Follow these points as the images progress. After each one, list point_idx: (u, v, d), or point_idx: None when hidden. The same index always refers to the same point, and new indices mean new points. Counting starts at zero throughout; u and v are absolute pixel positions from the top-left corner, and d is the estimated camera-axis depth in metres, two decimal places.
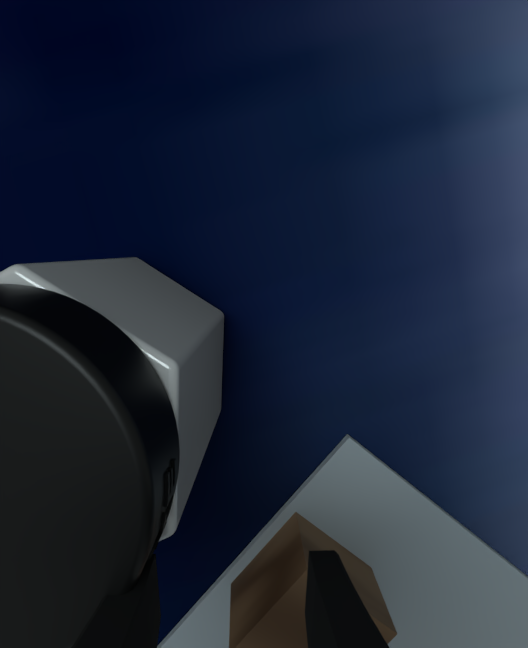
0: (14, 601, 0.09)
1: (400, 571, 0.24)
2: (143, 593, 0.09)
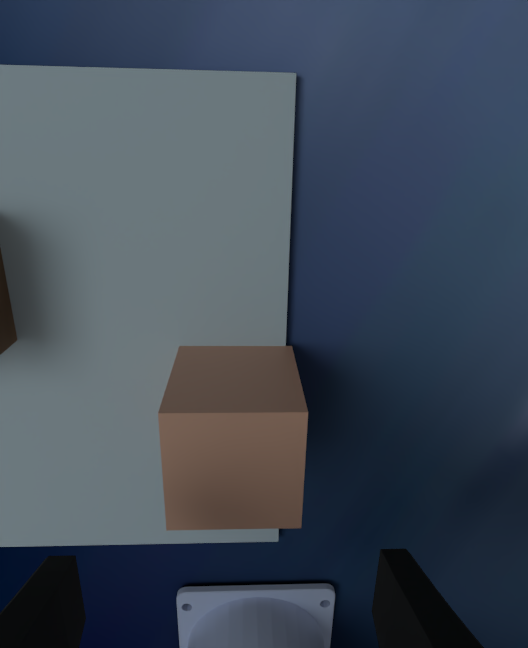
0: None
1: (29, 187, 0.16)
2: (53, 595, 0.09)
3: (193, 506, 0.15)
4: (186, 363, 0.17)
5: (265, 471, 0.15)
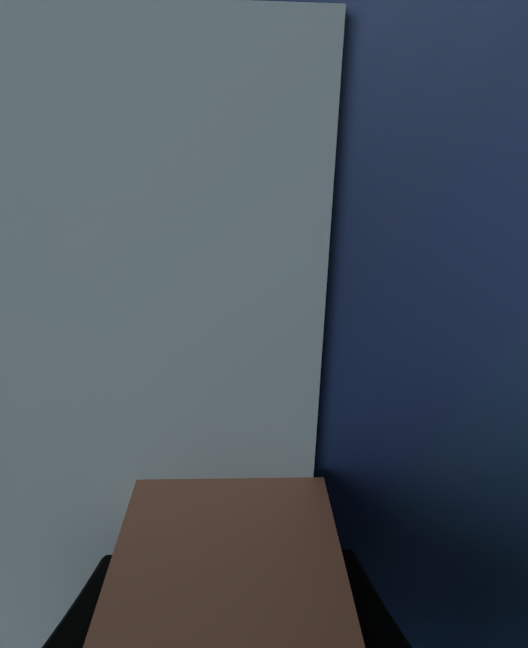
0: None
1: None
2: None
3: None
4: (142, 532, 0.10)
5: None
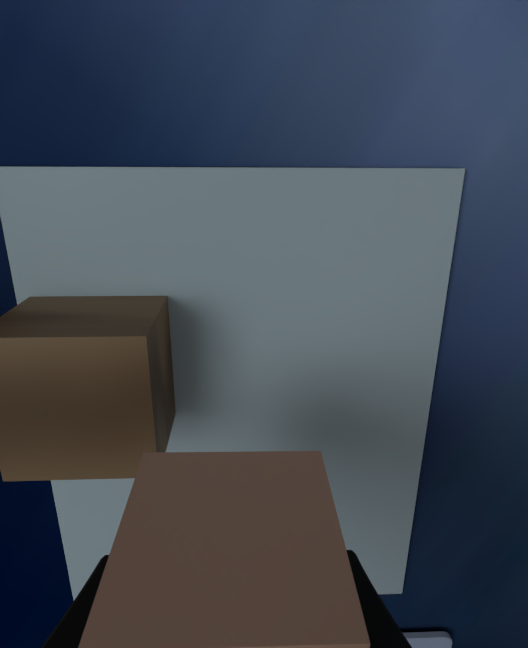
0: None
1: (203, 276, 0.17)
2: None
3: None
4: (150, 497, 0.10)
5: None
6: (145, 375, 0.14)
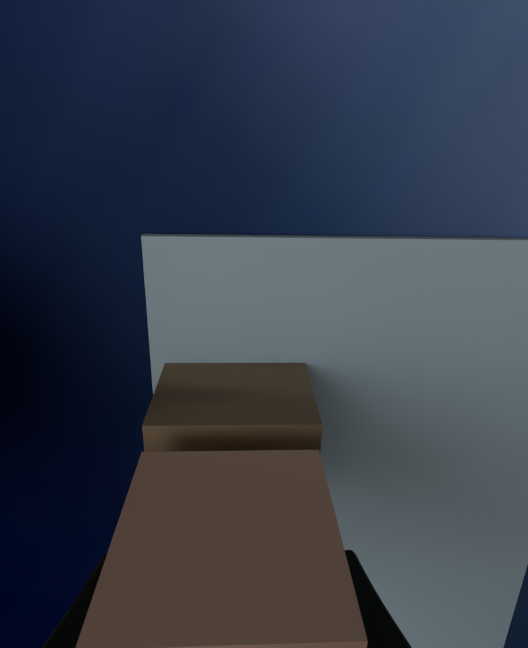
0: None
1: (343, 343, 0.17)
2: None
3: None
4: (148, 496, 0.10)
5: None
6: None
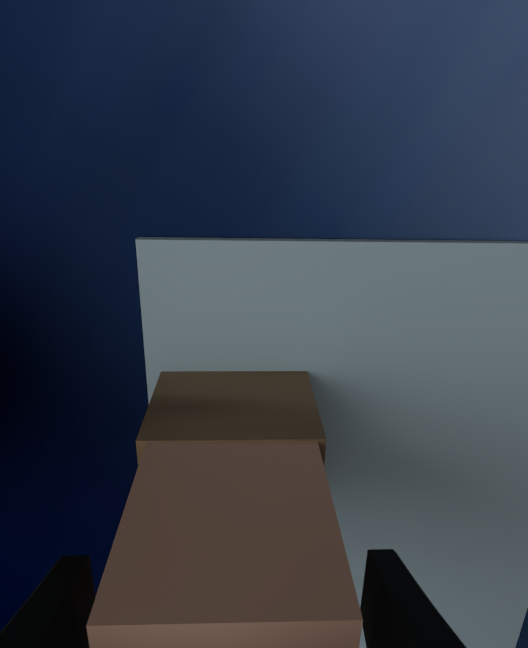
0: None
1: (347, 351, 0.16)
2: (68, 595, 0.09)
3: None
4: (153, 484, 0.11)
5: None
6: None
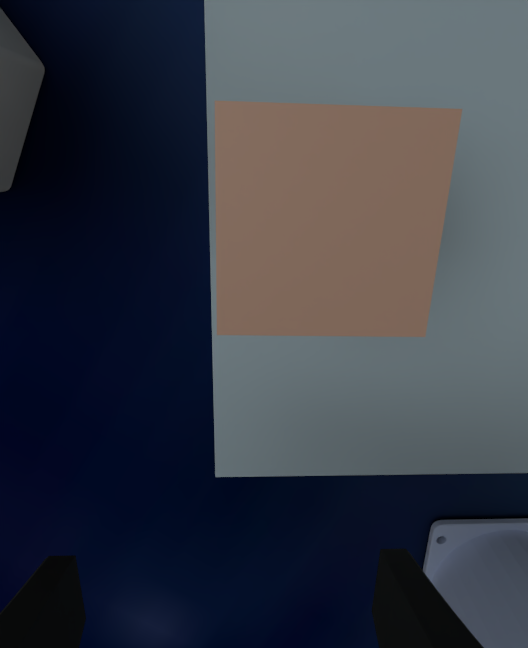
0: None
1: (399, 103, 0.17)
2: (53, 595, 0.09)
3: (262, 291, 0.10)
4: None
5: (380, 226, 0.09)
6: None
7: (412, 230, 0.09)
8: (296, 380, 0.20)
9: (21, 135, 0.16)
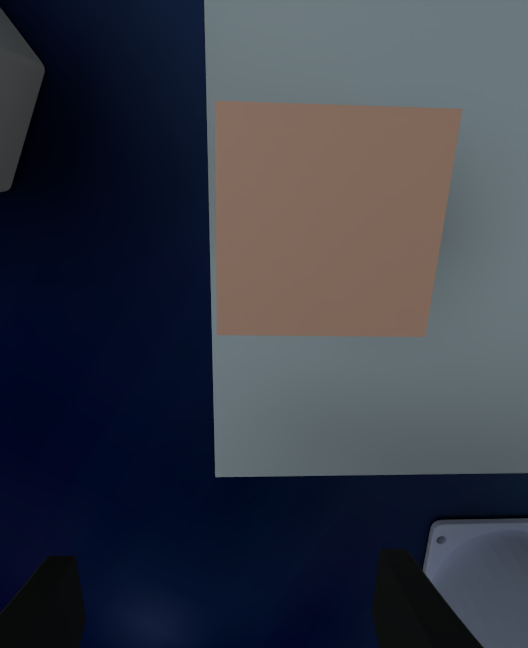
0: None
1: (399, 103, 0.17)
2: (53, 595, 0.09)
3: (262, 291, 0.10)
4: None
5: (380, 226, 0.09)
6: None
7: (412, 230, 0.09)
8: (296, 380, 0.20)
9: (21, 135, 0.16)
